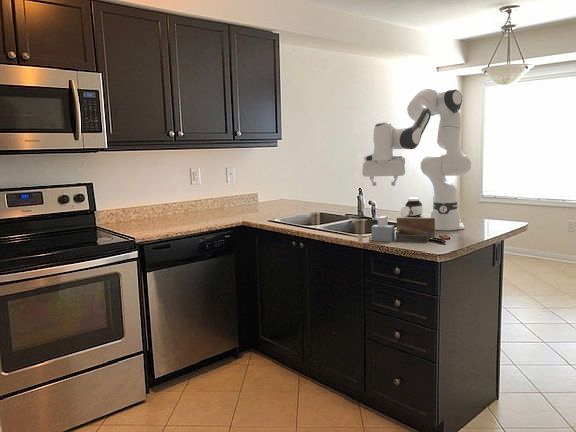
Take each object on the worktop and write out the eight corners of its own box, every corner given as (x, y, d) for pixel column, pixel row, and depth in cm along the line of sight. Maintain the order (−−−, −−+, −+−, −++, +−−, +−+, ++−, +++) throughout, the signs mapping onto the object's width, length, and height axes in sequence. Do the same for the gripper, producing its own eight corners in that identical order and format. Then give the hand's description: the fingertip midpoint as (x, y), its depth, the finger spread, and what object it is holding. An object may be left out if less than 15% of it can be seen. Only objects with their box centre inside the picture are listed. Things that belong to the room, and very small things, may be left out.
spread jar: (424, 216, 293) (423, 197, 292) (416, 218, 285) (416, 199, 283) (406, 215, 301) (405, 197, 299) (398, 217, 292) (398, 199, 290)
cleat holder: (398, 236, 233) (397, 217, 232) (435, 238, 225) (434, 218, 223) (392, 241, 225) (391, 220, 223) (430, 242, 216) (430, 221, 214)
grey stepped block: (375, 238, 233) (374, 215, 232) (395, 239, 229) (394, 216, 227) (371, 240, 228) (370, 217, 227) (391, 241, 223) (391, 218, 222)
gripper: (406, 155, 220) (407, 185, 222) (365, 157, 230) (365, 185, 231) (403, 155, 214) (403, 185, 216) (360, 157, 224) (361, 186, 226)
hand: (383, 185), depth 224 cm, fingers open, 8 cm apart
